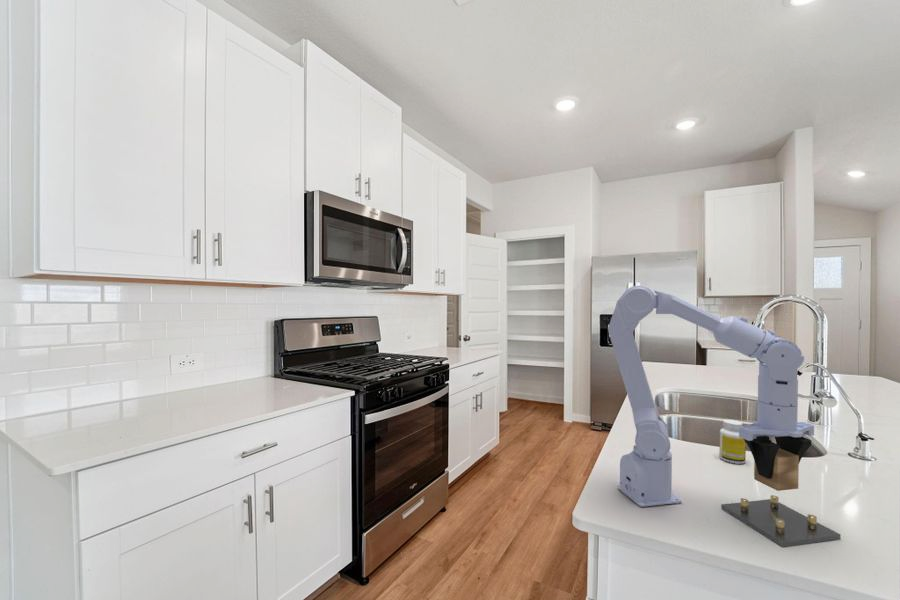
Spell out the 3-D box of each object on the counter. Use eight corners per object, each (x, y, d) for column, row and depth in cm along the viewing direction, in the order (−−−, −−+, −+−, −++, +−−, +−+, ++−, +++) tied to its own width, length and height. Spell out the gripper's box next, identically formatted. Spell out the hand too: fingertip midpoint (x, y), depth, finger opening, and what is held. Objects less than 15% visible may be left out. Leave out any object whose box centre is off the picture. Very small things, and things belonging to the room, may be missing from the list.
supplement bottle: (750, 465, 97) (750, 426, 97) (725, 463, 98) (725, 424, 98) (738, 456, 103) (739, 419, 102) (715, 455, 104) (715, 417, 103)
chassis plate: (782, 547, 66) (782, 530, 66) (721, 508, 78) (721, 494, 78) (840, 539, 68) (840, 523, 68) (772, 502, 80) (772, 489, 80)
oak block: (777, 490, 71) (778, 457, 71) (754, 479, 75) (754, 448, 75) (798, 488, 72) (798, 455, 72) (773, 477, 76) (774, 446, 76)
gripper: (765, 410, 68) (764, 489, 68) (833, 406, 71) (831, 481, 71) (729, 400, 75) (728, 471, 75) (792, 396, 78) (791, 464, 78)
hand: (776, 475), depth 74 cm, fingers closed on oak block, 4 cm apart
